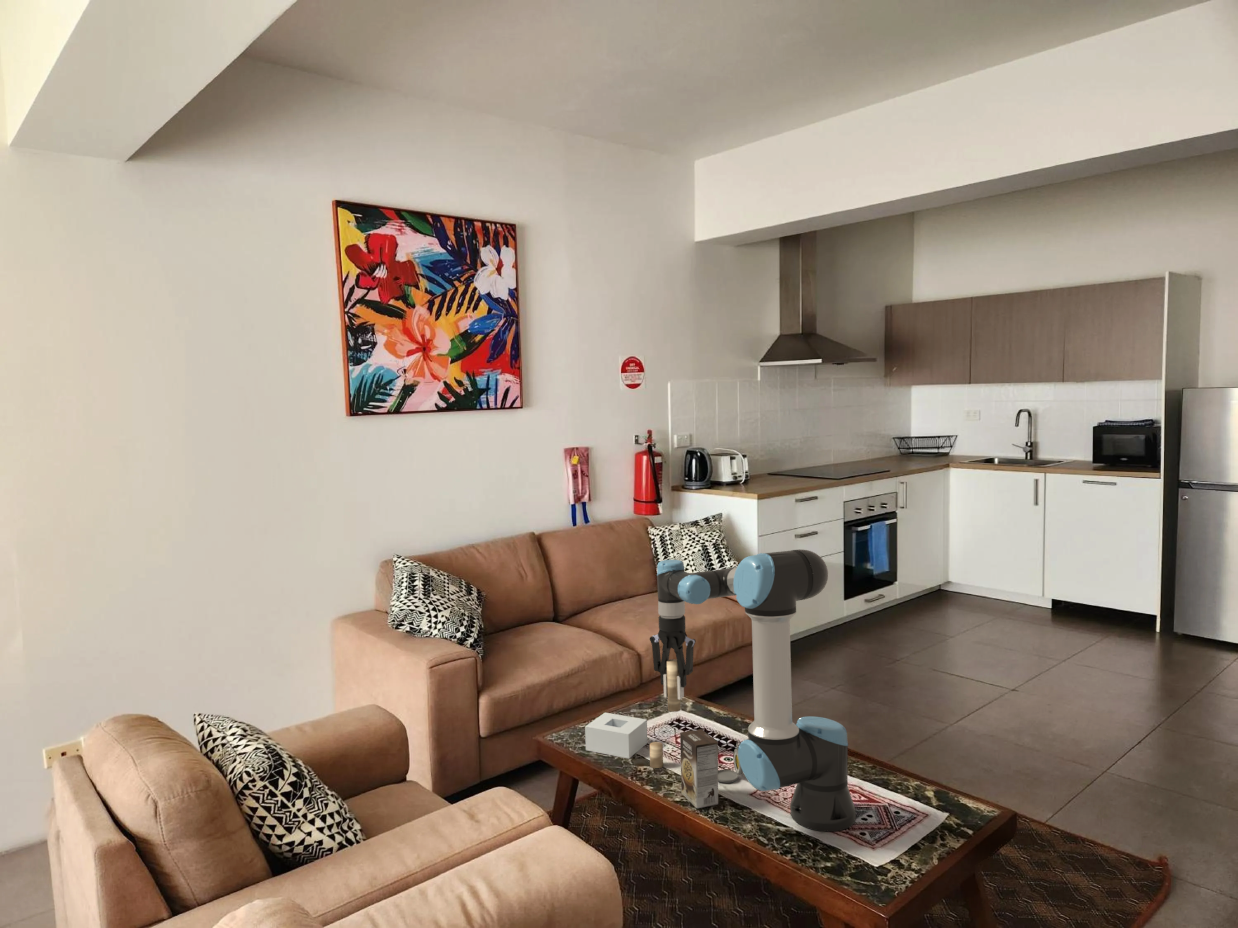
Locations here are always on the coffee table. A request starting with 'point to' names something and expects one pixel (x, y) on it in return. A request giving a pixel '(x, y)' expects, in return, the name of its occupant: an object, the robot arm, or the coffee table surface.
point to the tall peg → (672, 686)
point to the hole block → (616, 735)
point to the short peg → (656, 755)
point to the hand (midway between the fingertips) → (673, 696)
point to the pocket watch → (731, 775)
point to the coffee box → (699, 768)
